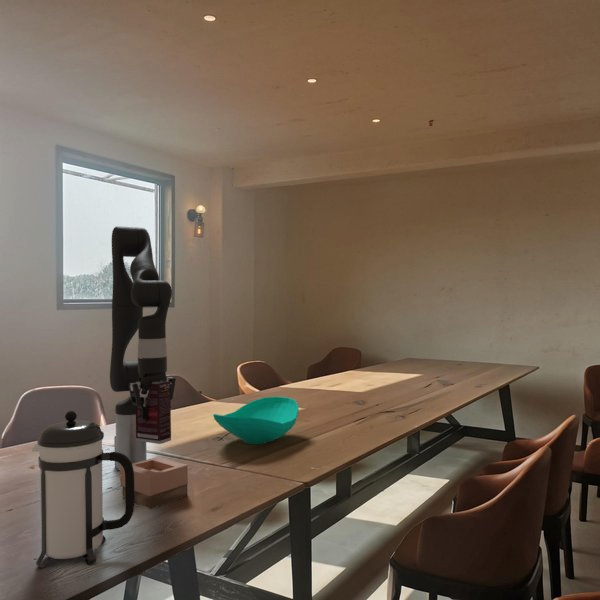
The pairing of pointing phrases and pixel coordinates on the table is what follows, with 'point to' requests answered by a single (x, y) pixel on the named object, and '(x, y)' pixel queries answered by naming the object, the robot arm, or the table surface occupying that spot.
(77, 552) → the coffee press
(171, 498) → the tower bottom
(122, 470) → the tower top
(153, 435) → the supplement box
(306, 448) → the table surface
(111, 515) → the table surface
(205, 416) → the table surface
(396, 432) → the table surface
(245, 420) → the table top decor
